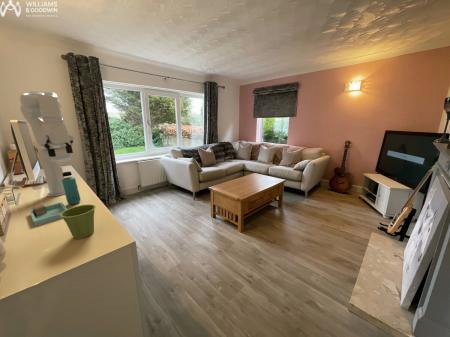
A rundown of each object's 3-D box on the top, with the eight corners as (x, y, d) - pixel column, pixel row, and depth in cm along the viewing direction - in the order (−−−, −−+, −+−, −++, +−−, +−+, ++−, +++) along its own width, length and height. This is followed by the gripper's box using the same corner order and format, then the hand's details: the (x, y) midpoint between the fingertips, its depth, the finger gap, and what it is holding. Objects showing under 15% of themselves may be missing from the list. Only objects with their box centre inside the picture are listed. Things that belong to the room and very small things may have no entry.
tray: (31, 215, 101) (29, 210, 100) (62, 206, 110) (61, 202, 109) (35, 227, 88) (33, 221, 88) (70, 216, 98) (69, 211, 97)
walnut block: (34, 214, 100) (32, 207, 99) (44, 211, 103) (42, 204, 102) (37, 216, 98) (35, 209, 97) (47, 213, 101) (45, 206, 100)
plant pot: (103, 233, 81) (98, 209, 78) (68, 246, 73) (61, 220, 70) (97, 223, 89) (92, 201, 87) (65, 234, 81) (58, 210, 79)
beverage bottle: (74, 206, 109) (65, 173, 104) (64, 206, 111) (56, 173, 106) (84, 202, 115) (76, 170, 111) (75, 201, 117) (67, 170, 112)
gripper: (62, 121, 104) (69, 151, 108) (27, 121, 87) (38, 158, 91) (75, 120, 103) (81, 151, 107) (42, 121, 86) (52, 158, 91)
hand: (61, 154), depth 99 cm, fingers open, 9 cm apart
